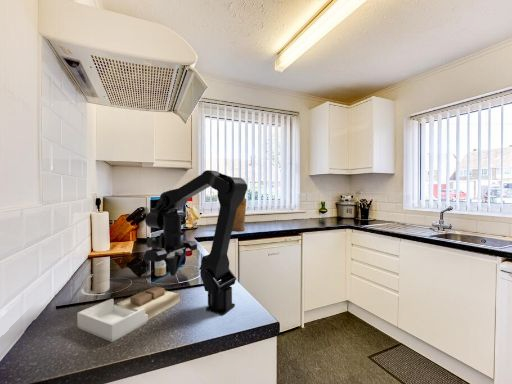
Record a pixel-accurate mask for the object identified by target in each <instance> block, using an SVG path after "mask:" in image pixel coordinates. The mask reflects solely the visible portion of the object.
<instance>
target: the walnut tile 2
mask: <svg viewBox="0 0 512 384" xmlns="http://www.w3.org/2000/svg"><path fill="white" fill-rule="evenodd" d="M144 291H145V293H148V294H151V296H152V299H153V300H155V299H157V298H159V297H161V296H163V295H165V291H166V290H165V288H164V287H159V286H153V287H150V288H148V289H145V290H144Z"/></svg>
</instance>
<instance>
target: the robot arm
mask: <svg viewBox="0 0 512 384" xmlns="http://www.w3.org/2000/svg"><path fill="white" fill-rule="evenodd" d="M210 187H211V189H213V190H215V191H217V200H218V203H219V211H218V216H217V219H216V220H217V221H216V226H215V229H214V234H213V240H212V244H211V249H210V252H209V253H208V254H206V255H204V256H202V257H201V264H200V266H199V270H200V272H199V273H200V277H201V281H202V285H203V288H204V291H205V292H207V307H205V311H208V312H212V313H214V314H215V313H216V314H218V315H221V316H222V315H225V314H227V313H228V312H229V311H230V310H232V309H233V308H234V307H235V305H236V304H235V303H233V288H232V287H233V285H235V283H236V282H237V277H236V276H235V275H234V273H233V272H232V271H231V269H230V259H229V256H228V250H229V246H230V243H231V242H230V241H231V237H232V233H233V232H232V229H233V224H234V220H235V215H236V210H237V208H238V207H239V205H240V204H241V202H242V201H243V199H245V197H246V193H247V191H248V185H247V183H246V181H245V179H244V178H242V177H234V176H230V175H227V174H223V173H221V172H218V171H217V170H210V169H209V170H208V169H206V170H204V171H203V172H202V173H201V174H199V175H198V176H196V177H194V178H193V179H191V180H190V181H188V182H187V183H185V184H183V185H182V186H180V187H177V188H174V189H169V190H166V191H164V192H162V193H161V194H160V196H159V199H158V201H157V203H156V205H155V207H153V208H152V207H151V208H150V209H149V210H150V211H149V212H148V213H147V214H146V216H145V218H144V222H145V225H146V226H147V227H148V228H155V229H156V228H157V229H163V232H160V234H159V237H157V238H156V237H155V236H151V237H148V238H146V245H147V248H149V249H148V250H146V251H144V253H143V260H144V261H147V262H154V263H155V262H159V261H162V260H164V261H165V263H166V266H167V267H166V268H167V269H168V272H169V274H170V276H171V277H174V276H176V274H177V272H178V270H179V268H180V266H181V263H182V261H183V259H184V258H185V256H187V252H186V253H185V252H184V250H186V249H189V250H190V251H195V250H198V244H197V242H196V241H194V240H183V241H182V236H184V235H185V232H184V231H182V217H186V216H187V213H186V212H185V211H183V209H182V208H183V207H184V206H185V205H186V204H187V203H188V202H189V200H190V199H191V198H192V197H194V196H196V195H197V194H199V193H202V192H203V191H205V190H206V189H208V188H210ZM150 248H151V249H150ZM156 248H160V249H156ZM162 248H164V250H162Z"/></svg>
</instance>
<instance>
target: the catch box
mask: <svg viewBox="0 0 512 384" xmlns="http://www.w3.org/2000/svg"><path fill="white" fill-rule="evenodd" d="M76 316H77V317H76V318H77V329H79V330H81V331H83V332H86V333H89V334H92V335H94V336H95V337H98V338H100V339H103V340H106V341H107V342H111V343H113V342H116V341H117V340H119V339H121V338H122V337H124V336H126V335H127V334H130V333H131V332H133V331H135V330H137V329H138V328H141V327H142V326H143V325H146V324H147V323H148V322H149V320H148V315H147V314H145V308H142V309H140V310H138V311H134V310H131V309H128V308H125V307H121V306H118V305H117V304H115V303H114V298H110V299H107V300H105V301H102V302H100V303H97V304H95V305H92V306H90V307H88V308H84V309H83V310H80V311H78V312H77V314H76Z"/></svg>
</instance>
